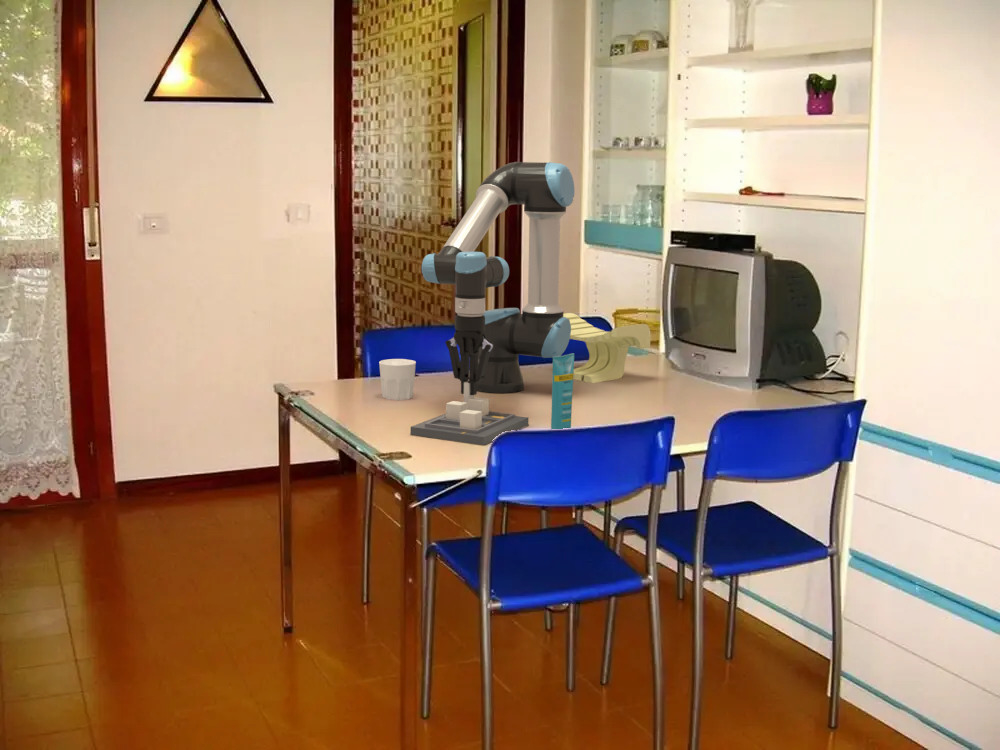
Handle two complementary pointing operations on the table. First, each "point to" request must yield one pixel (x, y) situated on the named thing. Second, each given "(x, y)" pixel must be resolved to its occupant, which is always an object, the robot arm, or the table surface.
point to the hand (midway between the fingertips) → (468, 407)
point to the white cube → (471, 419)
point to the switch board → (482, 436)
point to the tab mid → (455, 409)
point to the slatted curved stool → (606, 348)
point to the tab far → (479, 405)
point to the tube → (562, 391)
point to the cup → (397, 378)
